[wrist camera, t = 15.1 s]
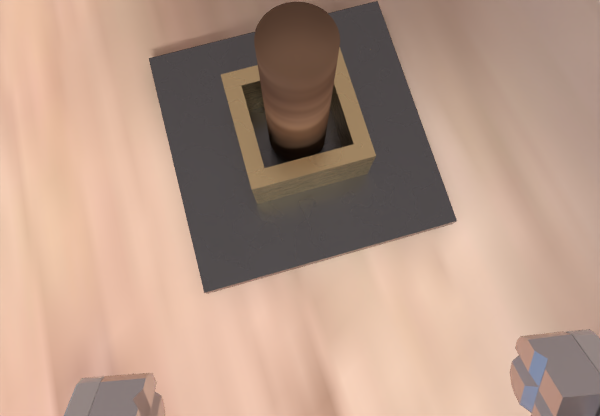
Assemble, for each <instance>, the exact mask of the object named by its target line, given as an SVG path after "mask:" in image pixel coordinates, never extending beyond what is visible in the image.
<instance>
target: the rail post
mask: <svg viewBox="0 0 600 416" xmlns="http://www.w3.org/2000/svg"><path fill="white" fill-rule="evenodd" d="M254 45H255V51H256V58H257V64H258V70H259V77H260V83H261V89H262V96H263V102H264V108H265V115H266V121H267V127H268V133H269V140H270V144H271V147H272V149H273V150H274V152H275V153H276V154H277V155H278V156H279V157H281V158H282V159H284V160H286V161H289V162H290V161H293V160H297V159H301V158H305V157H308V156H312V155H316V154H319V152H320V151H321V150H322V148H323V146H324V143H325V137H326V131H327V124H328V118H329V111H330V105H331V98H332V92H333V86H334V79H335V73H336V66H337V60H338V54H339V47H340V34H339V30H338V27H337V25H336V23H335V22H334V20H333V19H332V17H331V16H330V15H329V14H328V13H327V12H325V11H324V10H323V9H321V8H319V7H318V6H315V5H313V4H309V3H305V2H290V3H285V4H282V5H279V6H277V7H275V8H273V9H271V10H270V11H269V12H268V13H266V14H265V15H264V16H263V18H262V19H261V20H260V22H259V24H258V25H257V28H256V31H255V36H254Z"/></svg>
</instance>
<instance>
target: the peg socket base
mask: <svg viewBox="0 0 600 416" xmlns="http://www.w3.org/2000/svg"><path fill="white" fill-rule="evenodd" d="M328 14H329V15H330V16H331V17H332V19H333V20H334V22H335V23H336V25H337V27H338V30H339V34H340V47H339V54H338V60H337V66H336V73H335V79H334V86H333V92H332V98H331V105H330V111H329V118H328V124H327V131H326V137H325V143H324V146H323V148H322V150H321V151H320V152H319V154H316V155H312V156H308V157H305V158H301V159H297V160H293V161H290V162H289V161H286V160H284V159H282V158H281V157H279V156H278V155H277V154H276V153H275V152H274V150H273V149H272V147H271V144H270V140H269V133H268V127H267V121H266V115H265V108H264V102H263V96H262V89H261V83H260V77H259V70H258V64H257V58H256V51H255V45H254V36H255V32H252V33H248V34H244V35H240V36H236V37H232V38H228V39H224V40H220V41H217V42H213V43H209V44H205V45H201V46H197V47H193V48H189V49H185V50H181V51H177V52H173V53H169V54H165V55H161V56H157V57H153V58H149V61H150V65H151V70H152V74H153V78H154V82H155V86H156V91H157V95H158V99H159V103H160V108H161V112H162V116H163V120H164V124H165V129H166V133H167V137H168V141H169V145H170V150H171V154H172V158H173V162H174V167H175V171H176V175H177V179H178V183H179V188H180V192H181V196H182V200H183V204H184V209H185V213H186V217H187V221H188V226H189V230H190V234H191V238H192V242H193V247H194V251H195V255H196V259H197V263H198V268H199V272H200V276H201V280H202V284H203V289H204V293H207V294H208V293H211V292H215V291H218V290H222V289H225V288H229V287H232V286H236V285H239V284H243V283H246V282H250V281H253V280H257V279H260V278H264V277H267V276H271V275H274V274H278V273H281V272H285V271H288V270H292V269H296V268H299V267H303V266H306V265H310V264H313V263H317V262H320V261H324V260H327V259H331V258H334V257H338V256H341V255H345V254H348V253H352V252H355V251H359V250H362V249H366V248H369V247H373V246H376V245H380V244H383V243H387V242H390V241H394V240H397V239H401V238H404V237H408V236H412V235H415V234H419V233H422V232H426V231H429V230H433V229H436V228H440V227H443V226H447V225H450V224H453V223H454V222H456V221H457V220H456V217H455V215H454V212H453V209H452V206H451V203H450V201H449V198H448V195H447V192H446V190H445V187H444V184H443V181H442V179H441V176H440V173H439V170H438V168H437V165H436V162H435V159H434V156H433V154H432V151H431V148H430V145H429V143H428V140H427V137H426V134H425V132H424V129H423V126H422V123H421V120H420V118H419V115H418V112H417V109H416V107H415V104H414V101H413V98H412V96H411V93H410V90H409V87H408V84H407V82H406V79H405V76H404V73H403V71H402V68H401V65H400V62H399V60H398V57H397V54H396V51H395V48H394V46H393V43H392V40H391V37H390V35H389V32H388V29H387V26H386V24H385V21H384V18H383V15H382V13H381V10H380V7H379V4H378V1H376V2H372V3H368V4H364V5H360V6H356V7H352V8H348V9H344V10H340V11H336V12H332V13H328Z"/></svg>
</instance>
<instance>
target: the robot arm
mask: <svg viewBox="0 0 600 416" xmlns="http://www.w3.org/2000/svg"><path fill="white" fill-rule="evenodd" d="M515 348H516V350H517V352H518V354H519V356H518V357H516V358H515V359H514V360H513V361H512V364H511V369H510V377H511V384H512V388H513V391H514V394H515V396H516V398H517V400H518V402H519V404H520V405H521V406H523V407H524V408H526V409H527V410H528V411H530V412H531V416H600V339H599V337H598V336H597V335H596V333H594V332H593V331H591V330H590V329H589V330H578V331H568V332H554V333H545V334H536V335H527V336H521V337H520V338H519V339H518V340H517V343H516V347H515ZM156 384H157V382H156V380H155V377H154V375H153V373H142V374H128V375H114V376H102V377H90V378H82V379H81V380H80V381H79V382H78V384H77V385H76V387H75V389H74V392H73V394H72V397H71V399H70V402H69V404H68V407H67V409H66V412H65V414H64V416H165V407H164V402H163V399H162V396H161V395H160V394H158V393H156V392H155V389H156Z"/></svg>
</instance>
